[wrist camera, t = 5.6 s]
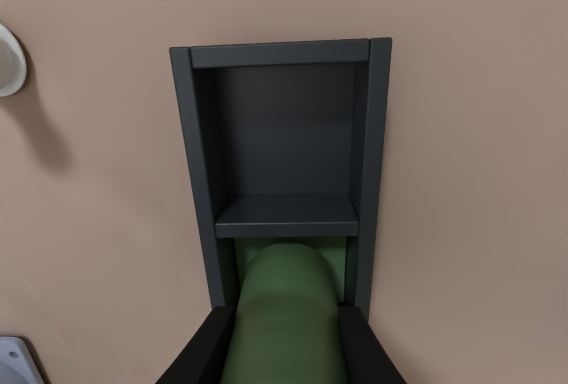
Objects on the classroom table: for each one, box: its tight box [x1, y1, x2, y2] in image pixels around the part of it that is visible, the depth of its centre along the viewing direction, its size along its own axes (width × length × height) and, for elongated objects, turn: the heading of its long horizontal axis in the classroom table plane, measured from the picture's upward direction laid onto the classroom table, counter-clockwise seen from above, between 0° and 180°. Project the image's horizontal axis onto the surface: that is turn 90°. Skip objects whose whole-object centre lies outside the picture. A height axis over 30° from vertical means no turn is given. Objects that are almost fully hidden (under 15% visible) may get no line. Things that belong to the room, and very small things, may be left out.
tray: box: [169, 37, 392, 322], centre depth 12 cm, size 6×12×3 cm, turn 2°
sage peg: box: [219, 242, 350, 384], centre depth 10 cm, size 4×4×6 cm
